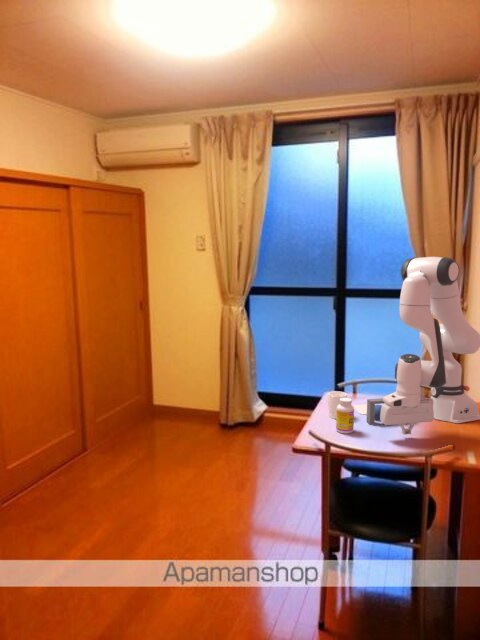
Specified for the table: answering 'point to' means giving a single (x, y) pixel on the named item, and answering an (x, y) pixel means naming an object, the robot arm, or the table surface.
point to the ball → (377, 411)
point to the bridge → (372, 409)
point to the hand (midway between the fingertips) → (406, 433)
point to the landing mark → (361, 409)
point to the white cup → (334, 402)
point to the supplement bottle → (345, 416)
